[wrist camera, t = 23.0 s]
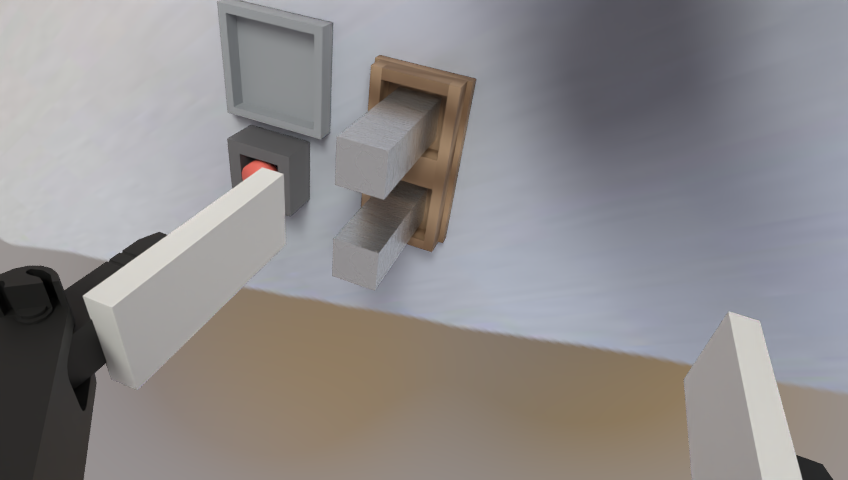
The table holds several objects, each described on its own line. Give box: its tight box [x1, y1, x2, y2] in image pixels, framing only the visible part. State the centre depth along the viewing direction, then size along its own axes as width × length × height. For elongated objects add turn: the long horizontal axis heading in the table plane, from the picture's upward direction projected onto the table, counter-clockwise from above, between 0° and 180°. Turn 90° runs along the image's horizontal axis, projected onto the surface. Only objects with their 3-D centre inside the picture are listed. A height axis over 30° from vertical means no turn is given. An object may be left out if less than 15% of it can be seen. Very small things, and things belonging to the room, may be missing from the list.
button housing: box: [227, 125, 310, 216], centre depth 55 cm, size 7×7×4 cm
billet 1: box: [335, 87, 442, 200], centre depth 42 cm, size 4×4×12 cm
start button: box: [242, 159, 278, 181], centre depth 54 cm, size 4×4×2 cm
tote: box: [217, 0, 333, 139], centre depth 50 cm, size 11×11×2 cm
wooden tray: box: [361, 55, 476, 252], centre depth 49 cm, size 17×9×3 cm, turn 172°
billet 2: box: [332, 180, 428, 291], centre depth 48 cm, size 4×4×12 cm
